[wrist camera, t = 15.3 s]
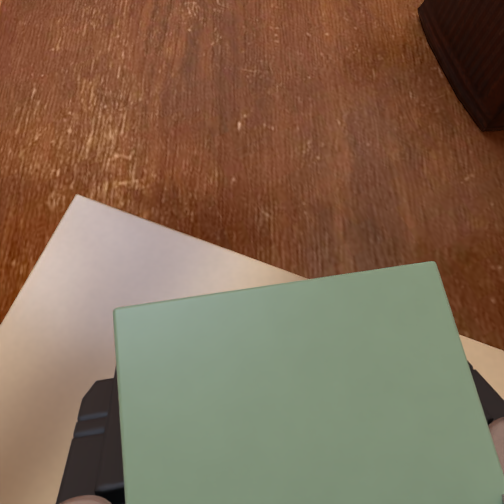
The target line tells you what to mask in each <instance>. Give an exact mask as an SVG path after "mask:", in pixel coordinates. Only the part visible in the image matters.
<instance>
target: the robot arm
mask: <svg viewBox="0 0 504 504" xmlns="http://www.w3.org/2000/svg"><path fill="white" fill-rule="evenodd" d="M467 361H468V360H467ZM468 365H469V368H470V371H471V374H472V377H473V380H474V383H475V386H476V390H477V393H478V396H479V399H480V402H481V405H482V408H483V411H484V415H485V418H486V421H487V424H488V427H489V430H490V433H491V436H492V439H493V443H494V446H495V449H496V452H497V455H498V458H499V461H500V464H501V468H502V471H503V474H504V400H503V399H502V398H501V396H500V395H499V394H498V393H497V392H496V391H495V390H494V389H493V388H492V387H491V385H490V384H489V383H488V382H487V381H486V380H485V379H484V378H483V377H482V376H481V375H480V373H479V372H478V371H477V370H476V369H475V370H474V369H473V366H472V365H471V364H470V363H469V361H468ZM501 495H502V504H504V494H501ZM56 504H125V491H124V476H123V460H122V445H121V430H120V415H119V400H118V385H117V370H116V367H115V373H114V378H110V379H103V380H97V381H95V383H94V384H93V385H92V387H91V388H90V389H89V390H88V392H87V393H86V394H85V396H84V397H83V398H82V401H81V405H80V409H79V413H78V417H77V422H76V425H75V429H74V433H73V439H72V441H71V445H70V449H69V453H68V457H67V461H66V465H65V469H64V473H63V477H62V481H61V485H60V489H59V493H58V497H57V500H56Z"/></svg>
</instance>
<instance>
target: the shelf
mask: <svg viewBox="0 0 504 504" xmlns="http://www.w3.org/2000/svg"><path fill="white" fill-rule="evenodd" d="M301 280H307V278H304V277H301V276H299V275H296V274H293V273H291V272H288V271H285V270H282V269H280V268H277V267H274V266H271V265H269V264H266V263H263V262H261V261H258V260H255V259H252V258H250V257H247V256H244V255H242V254H239V253H236V252H233V251H231V250H228V249H225V248H223V247H220V246H217V245H214V244H212V243H209V242H206V241H204V240H201V239H198V238H195V237H193V236H190V235H187V234H185V233H182V232H179V231H176V230H174V229H171V228H168V227H166V226H163V225H160V224H157V223H155V222H152V221H149V220H147V219H144V218H141V217H138V216H136V215H133V214H130V213H127V212H125V211H122V210H119V209H117V208H114V207H111V206H108V205H106V204H103V203H100V202H98V201H95V200H92V199H89V198H87V197H84V196H81V195H79V194H76V195H75V197H74V199H73V200H72V202H71V204H70V206H69V207H68V209H67V211H66V213H65V214H64V216H63V218H62V219H61V221H60V223H59V225H58V226H57V228H56V230H55V232H54V233H53V235H52V237H51V239H50V240H49V242H48V244H47V245H46V247H45V249H44V251H43V252H42V254H41V256H40V258H39V259H38V261H37V263H36V265H35V266H34V268H33V270H32V271H31V273H30V275H29V277H28V278H27V280H26V282H25V284H24V285H23V287H22V289H21V291H20V292H19V294H18V296H17V297H16V299H15V301H14V303H13V304H12V306H11V308H10V310H9V311H8V313H7V315H6V317H5V318H4V320H3V322H2V323H1V325H0V504H56V500H57V497H58V493H59V489H60V485H61V481H62V477H63V473H64V469H65V465H66V461H67V457H68V453H69V449H70V445H71V441H72V439H73V433H74V429H75V425H76V422H77V417H78V413H79V409H80V405H81V401H82V398H83V397H84V396H85V394H86V393H87V392H88V390H89V389H90V388H91V387H92V385H93V384H94V383H95V381H97V380H103V379H110V378H114V373H115V367H116V355H115V340H114V324H113V310H114V309H115V308H118V307H125V306H132V305H138V304H145V303H152V302H159V301H165V300H172V299H179V298H186V297H192V296H199V295H206V294H213V293H219V292H226V291H233V290H240V289H247V288H253V287H260V286H267V285H274V284H280V283H287V282H294V281H301ZM459 336H460V340H461V343H462V346H463V349H464V352H465V355H466V358H467V360H468V361H469V363H470V364H471V365H472V366H473V369H474V370H475V369H476V370H477V371H478V372H479V373H480V375H481V376H482V377H483V378H484V379H485V380H486V381H487V382H488V383H489V384H490V385H491V387H492V388H493V389H494V390H495V391H496V392H497V393H498V394H499V395H500V396H501V398H502V399H503V400H504V351H502V350H500V349H497V348H494V347H492V346H489V345H486V344H483V343H481V342H478V341H475V340H473V339H470V338H467V337H464V336H462V335H459Z"/></svg>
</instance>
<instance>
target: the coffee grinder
mask: <svg viewBox="0 0 504 504" xmlns="http://www.w3.org/2000/svg"><path fill="white" fill-rule="evenodd" d="M418 14H419V17H420V20H421V22H422V25H423V28H424V31H425V34H426V37H427V40H428V42H429V44H430V46H431V48H432V50H433V52H434V54H435V56H436V57H437V59H438V61H439V63H440V65H441V67H442V69H443V71H444V73H445V74H446V76H447V78H448V80H449V82H450V84H451V86H452V88H453V89H454V91H455V93H456V95H457V97H458V98H459V100H460V101H461V103H462V104H463V105H464V107H465V108H466V109H467V111H468V112H469V114H470V115H471V116H472V118H473V119H474V120H475V122H476V123H477V125H478V126H479V127H480V129H481V130H482V131H493V130H504V0H424V2H423V3H422V4H421V6H420V7H419V8H418Z"/></svg>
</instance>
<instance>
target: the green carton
mask: <svg viewBox="0 0 504 504" xmlns="http://www.w3.org/2000/svg"><path fill="white" fill-rule="evenodd" d="M113 324H114V340H115V355H116V370H117V385H118V400H119V415H120V430H121V445H122V460H123V476H124V491H125V504H502V495H501V494H504V474H503V471H502V468H501V464H500V461H499V458H498V455H497V452H496V449H495V446H494V443H493V439H492V436H491V433H490V430H489V427H488V424H487V421H486V418H485V415H484V411H483V408H482V405H481V402H480V399H479V396H478V393H477V390H476V386H475V383H474V380H473V377H472V374H471V371H470V368H469V365H468V361H467V358H466V355H465V352H464V349H463V346H462V343H461V340H460V336H459V333H458V330H457V327H456V324H455V321H454V318H453V315H452V311H451V308H450V305H449V302H448V299H447V296H446V293H445V290H444V286H443V283H442V280H441V277H440V274H439V271H438V268H437V265H436V263H435V262H433V261H429V262H422V263H416V264H409V265H402V266H395V267H389V268H382V269H375V270H368V271H362V272H355V273H348V274H341V275H335V276H328V277H321V278H314V279H307V280H301V281H294V282H287V283H280V284H274V285H267V286H260V287H253V288H247V289H240V290H233V291H226V292H219V293H213V294H206V295H199V296H192V297H186V298H179V299H172V300H165V301H159V302H152V303H145V304H138V305H132V306H125V307H118V308H115V309H114V310H113Z"/></svg>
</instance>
